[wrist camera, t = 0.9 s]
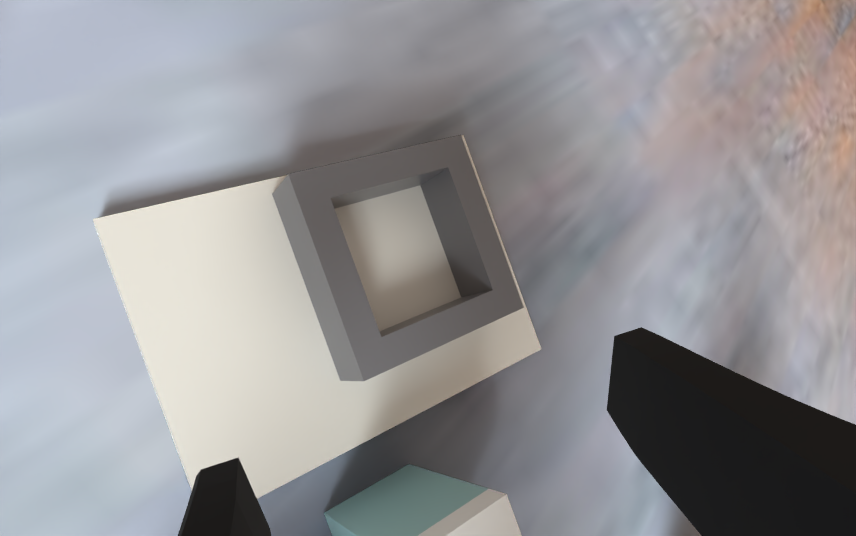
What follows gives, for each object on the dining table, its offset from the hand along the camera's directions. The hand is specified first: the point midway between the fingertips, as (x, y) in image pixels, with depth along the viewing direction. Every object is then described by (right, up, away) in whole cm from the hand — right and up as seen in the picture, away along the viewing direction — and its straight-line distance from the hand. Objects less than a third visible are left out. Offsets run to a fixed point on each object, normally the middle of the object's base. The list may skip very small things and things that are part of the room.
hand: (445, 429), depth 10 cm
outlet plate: (-4, +2, +13) cm, 14 cm away
